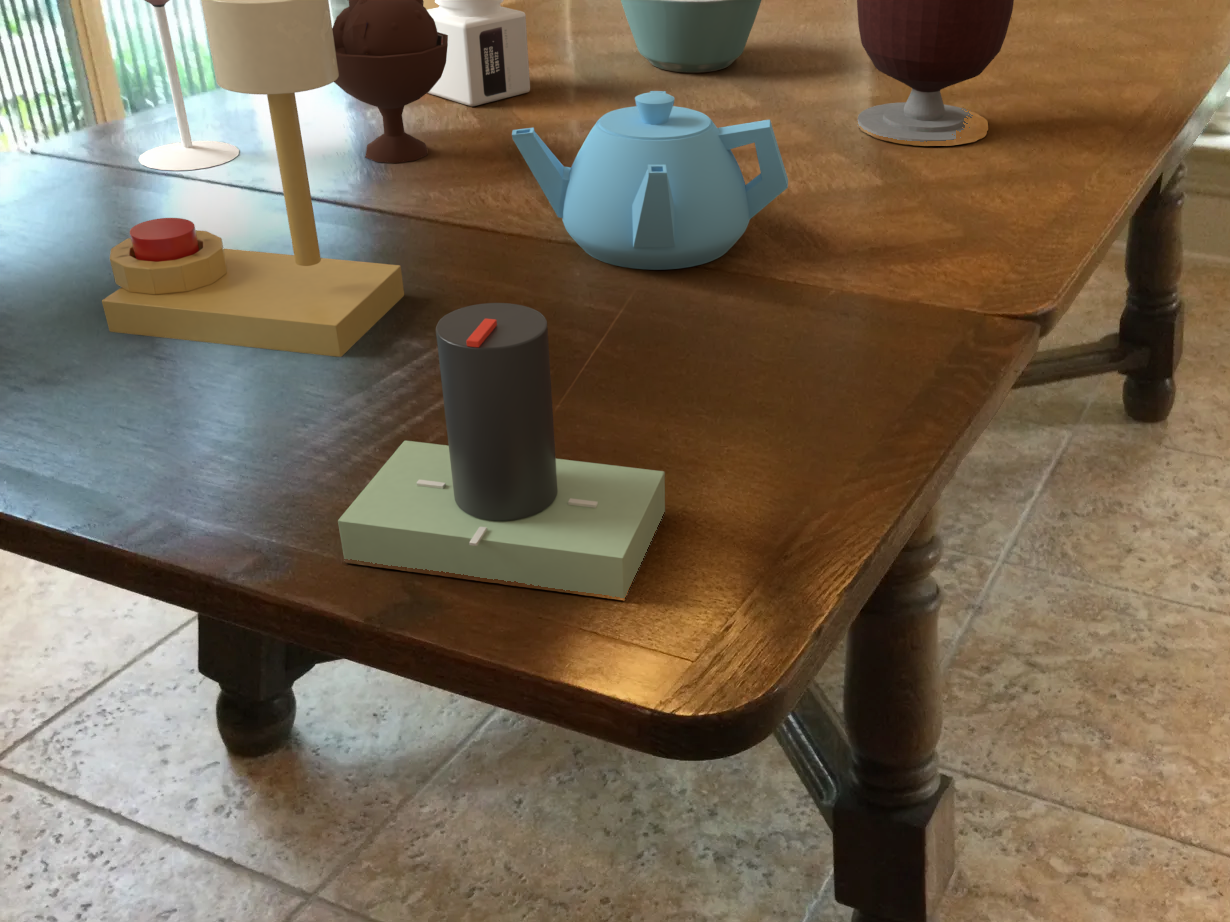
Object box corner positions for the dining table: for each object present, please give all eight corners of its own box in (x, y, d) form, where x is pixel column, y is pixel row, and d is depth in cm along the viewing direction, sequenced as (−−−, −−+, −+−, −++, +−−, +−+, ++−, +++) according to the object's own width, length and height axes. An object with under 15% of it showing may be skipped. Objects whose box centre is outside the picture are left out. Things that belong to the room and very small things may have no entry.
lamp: (230, 277, 84) (175, -2, 75) (283, 237, 90) (238, -26, 81) (334, 287, 83) (291, 6, 74) (381, 247, 89) (347, -19, 80)
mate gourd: (904, 158, 119) (926, -90, 108) (820, 117, 129) (833, -113, 118) (1041, 135, 125) (1076, -101, 114) (951, 98, 135) (975, -122, 124)
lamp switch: (122, 262, 87) (116, 236, 86) (156, 240, 90) (151, 215, 89) (179, 267, 86) (173, 241, 85) (211, 245, 90) (206, 220, 89)
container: (532, 92, 135) (523, -48, 127) (471, 108, 130) (459, -37, 123) (482, 78, 139) (471, -58, 132) (421, 92, 134) (406, -48, 127)
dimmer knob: (475, 463, 68) (458, 291, 63) (570, 474, 67) (560, 301, 62) (438, 514, 64) (417, 335, 59) (539, 527, 63) (526, 346, 58)
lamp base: (88, 330, 87) (73, 271, 85) (172, 272, 95) (160, 217, 93) (341, 357, 84) (331, 297, 82) (404, 295, 92) (397, 239, 90)
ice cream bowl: (318, 144, 120) (291, -37, 111) (439, 129, 124) (422, -46, 116) (348, 179, 112) (322, -12, 104) (477, 162, 116) (461, -23, 108)
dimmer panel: (339, 570, 65) (331, 524, 63) (414, 475, 72) (408, 431, 71) (620, 609, 62) (619, 562, 61) (668, 506, 70) (667, 462, 68)
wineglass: (216, 133, 122) (165, -137, 110) (260, 159, 116) (211, -123, 104) (118, 150, 117) (53, -129, 105) (159, 179, 111) (95, -114, 99)
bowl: (738, 88, 137) (740, 2, 132) (595, 73, 141) (592, -10, 136) (780, 52, 150) (783, -27, 145) (647, 40, 153) (646, -38, 149)
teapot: (651, 299, 92) (649, 142, 86) (511, 241, 101) (501, 95, 95) (797, 242, 101) (804, 97, 95) (658, 194, 110) (657, 58, 104)
